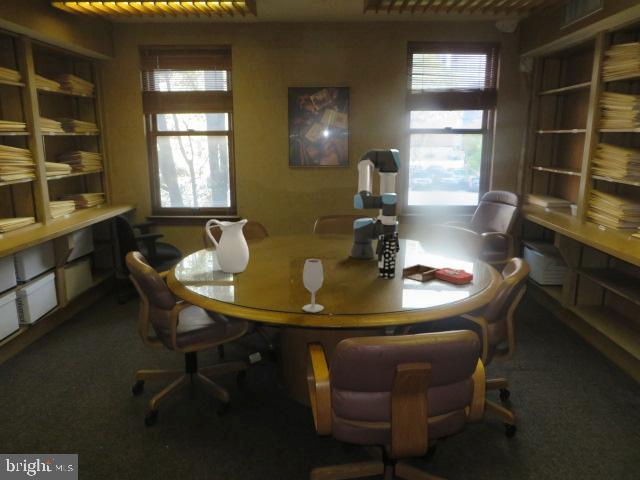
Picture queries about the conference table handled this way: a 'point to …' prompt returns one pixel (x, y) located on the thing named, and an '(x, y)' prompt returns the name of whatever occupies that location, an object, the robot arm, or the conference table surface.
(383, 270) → the spotted tube
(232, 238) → the pitcher
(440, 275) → the plaque
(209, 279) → the conference table surface
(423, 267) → the walnut tray
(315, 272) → the wineglass
